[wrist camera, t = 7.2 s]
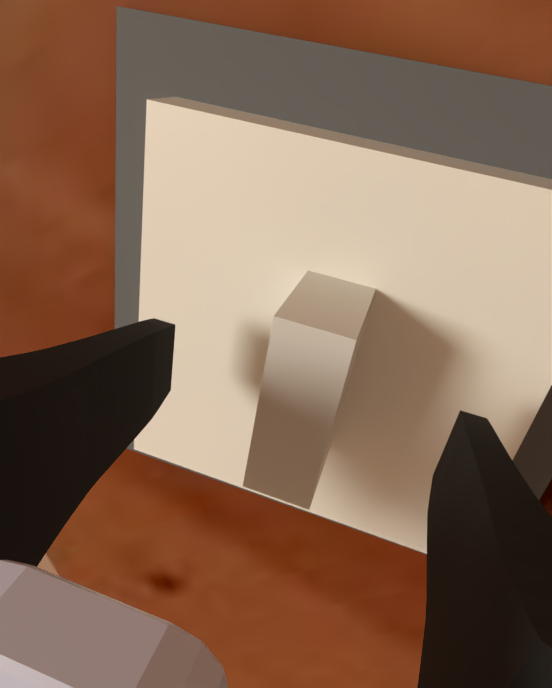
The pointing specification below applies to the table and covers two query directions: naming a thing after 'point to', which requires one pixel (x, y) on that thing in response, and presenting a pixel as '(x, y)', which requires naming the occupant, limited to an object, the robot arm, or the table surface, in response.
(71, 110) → the table surface
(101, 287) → the table surface
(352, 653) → the table surface
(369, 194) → the lid
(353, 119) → the mat
